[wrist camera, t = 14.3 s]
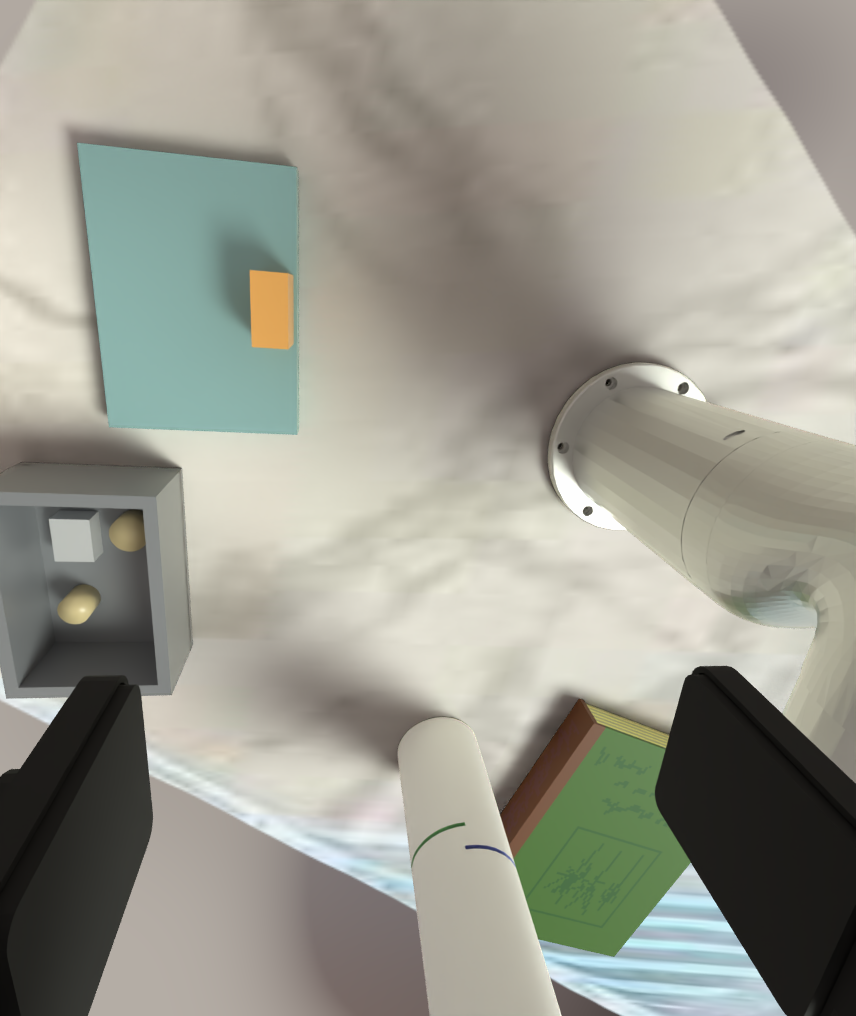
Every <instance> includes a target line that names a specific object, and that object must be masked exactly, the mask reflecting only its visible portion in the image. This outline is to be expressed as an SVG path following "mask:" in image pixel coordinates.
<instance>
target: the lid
mask: <svg viewBox="0 0 856 1016" xmlns="http://www.w3.org/2000/svg"><path fill="white" fill-rule="evenodd" d="M77 146H78V155H79V164H80V173H81V182H82V191H83V200H84V209H85V218H86V227H87V236H88V244H89V253H90V262H91V271H92V280H93V289H94V298H95V307H96V316H97V325H98V334H99V343H100V352H101V360H102V369H103V378H104V387H105V396H106V405H107V414H108V423H109V427H117V428H142V429H167V430H192V431H217V432H242V433H267V434H292V435H297V434H298V430H299V214H298V170H297V167H293V166H284V165H275V164H266V163H257V162H248V161H239V160H230V159H221V158H212V157H203V156H193V155H184V154H175V153H166V152H157V151H148V150H139V149H130V148H121V147H112V146H103V145H94V144H85V143H77Z"/></svg>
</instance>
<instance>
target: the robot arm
mask: <svg viewBox="0 0 856 1016" xmlns="http://www.w3.org/2000/svg"><path fill="white" fill-rule="evenodd" d="M607 379H609V383H608V384H607V385H606V384H605V383H606V381H607ZM678 386H679V388H678ZM561 442H562V446H561V447H560V448H557V447H558V445H559V444H560V443H561ZM548 468H549V473H550V479H551V481H552V484H553V486H554V489H555V491H556V493H557V495H558V496H559V497H560V499H561V500H562V502H563V503H564V504H565V505H566V506H567V507H568V508H569V509H570V510H571V511H572V512H573V513H574V514H575V515H576V516H578V517H579V518H580V519H582V520H583V521H585V522H587V523H590V524H592V525H594V526H596V527H600V528H605V529H609V530H627V531H628V532H630V533H631V534H632V535H633V536H635V537H636V538H637V539H638V540H639V541H641V542H642V543H643V544H644V545H645V546H647V547H648V548H649V549H650V550H652V551H653V552H654V553H655V554H656V555H658V556H659V557H660V558H661V559H662V560H664V561H665V562H666V563H667V564H669V565H670V566H671V567H672V568H673V569H675V570H676V571H677V572H678V573H679V574H681V575H682V576H683V577H684V578H686V579H687V580H688V581H689V582H690V583H692V584H693V585H694V586H695V587H697V588H698V589H699V590H701V591H702V592H703V593H704V594H706V595H707V596H708V597H709V598H710V599H712V600H713V601H714V602H715V603H717V604H718V605H719V606H721V607H722V608H724V609H725V610H727V611H728V612H730V613H732V614H734V615H736V616H738V617H740V618H742V619H744V620H747V621H750V622H753V623H757V624H760V625H764V626H769V627H776V628H792V629H805V628H816V632H815V636H814V639H813V641H812V644H811V646H810V649H809V651H808V653H807V656H806V658H805V660H804V663H803V665H802V668H801V674H800V676H799V678H798V680H797V682H796V685H795V687H794V689H793V691H792V693H791V696H790V698H789V700H788V702H787V704H786V707H785V709H784V711H783V713H781V712H780V711H779V710H778V709H777V708H776V707H775V706H773V705H772V704H771V703H770V702H769V701H768V700H767V699H766V698H765V697H764V696H763V695H762V694H761V693H760V692H759V691H758V690H757V689H756V688H754V687H753V686H752V685H751V684H750V683H749V682H748V681H747V680H746V679H745V678H744V677H743V676H742V675H741V674H740V673H739V672H738V671H737V670H735V669H734V668H732V667H729V666H700V667H697V668H695V670H694V671H693V672H692V675H688V676H687V677H686V678H685V681H684V684H683V687H682V691H681V695H680V698H679V702H678V706H677V709H676V713H675V717H674V720H673V724H672V728H671V731H670V735H669V739H668V742H667V746H666V750H665V753H664V757H663V761H662V764H661V768H660V772H659V775H658V779H657V783H656V786H655V800H656V804H657V807H658V809H659V811H660V813H661V815H662V816H663V818H664V820H665V821H666V823H667V825H668V826H669V828H670V829H671V831H672V833H673V834H674V836H675V838H676V839H677V841H678V842H679V844H680V846H681V847H682V849H683V850H684V852H685V854H686V855H687V857H688V859H689V860H690V862H691V863H692V865H693V867H694V868H695V870H696V872H697V873H698V875H699V876H700V878H701V880H702V881H703V883H704V884H705V886H706V888H707V889H708V891H709V893H710V894H711V896H712V897H713V899H714V901H715V902H716V904H717V906H718V907H719V909H720V910H721V912H722V914H723V915H724V917H725V919H726V920H727V922H728V923H729V925H730V927H731V928H732V930H733V931H734V933H735V935H736V936H737V938H738V940H739V941H740V943H741V944H742V946H743V948H744V949H745V951H746V953H747V954H748V956H749V957H750V959H751V961H752V962H753V964H754V965H755V967H756V969H757V970H758V972H759V974H760V975H761V977H762V978H763V980H764V982H765V983H766V985H767V987H768V988H769V990H770V991H771V993H772V995H773V996H774V998H775V999H776V1001H777V1003H778V1004H779V1006H780V1007H781V1009H782V1010H783V1012H784V1013H785V1014H786V1015H787V1016H856V445H853V444H849V443H845V442H842V441H839V440H835V439H832V438H828V437H825V436H821V435H818V434H814V433H810V432H807V431H804V430H800V429H797V428H793V427H790V426H787V425H783V424H780V423H776V422H773V421H769V420H766V419H763V418H759V417H756V416H752V415H749V414H745V413H742V412H739V411H735V410H732V409H728V408H725V407H722V406H718V405H715V404H711V403H708V402H707V401H706V399H705V397H704V395H703V393H702V392H701V390H700V389H699V388H698V387H697V386H696V385H695V383H694V382H693V381H692V380H690V379H689V378H688V377H686V376H685V375H684V374H682V373H681V372H679V371H676V370H674V369H672V368H669V367H667V366H663V365H658V364H654V363H641V362H636V363H629V364H622V365H619V366H616V367H613V368H610V369H607V370H605V371H603V372H601V373H599V374H598V375H596V376H594V377H592V378H591V379H590V380H588V381H587V382H586V383H585V384H583V385H582V386H581V387H580V388H578V389H577V391H576V392H575V393H574V394H573V395H572V396H571V397H570V399H569V400H568V401H567V402H566V404H565V405H564V407H563V409H562V410H561V412H560V413H559V415H558V417H557V419H556V422H555V424H554V427H553V429H552V432H551V436H550V441H549V446H548ZM585 506H586V508H585V509H584V510H583V508H584V507H585ZM152 822H153V812H152V801H151V791H150V781H149V770H148V760H147V750H146V740H145V730H144V720H143V710H142V700H141V691H140V687H139V685H129V683H128V679H127V677H126V676H124V675H101V676H85V677H83V678H82V679H81V680H80V681H79V683H78V684H77V685H76V687H75V688H74V690H73V691H72V693H71V694H70V696H69V697H68V699H67V700H66V702H65V703H64V705H63V706H62V708H61V709H60V711H59V712H58V714H57V715H56V717H55V718H54V720H53V721H52V722H51V724H50V725H49V727H48V728H47V730H46V731H45V733H44V734H43V736H42V737H41V739H40V740H39V742H38V743H37V745H36V746H35V748H34V749H33V751H32V752H31V754H30V755H29V757H28V758H27V759H26V761H25V762H24V764H23V765H22V767H21V768H20V769H11V770H9V771H7V772H5V773H4V774H2V776H1V777H0V1016H88V1013H89V1011H90V1008H91V1005H92V1002H93V999H94V997H95V994H96V991H97V988H98V985H99V982H100V979H101V977H102V973H103V971H104V968H105V965H106V962H107V959H108V956H109V954H110V951H111V948H112V945H113V942H114V939H115V937H116V934H117V931H118V928H119V925H120V922H121V919H122V917H123V914H124V911H125V908H126V905H127V902H128V899H129V897H130V894H131V890H132V888H133V885H134V882H135V880H136V877H137V874H138V871H139V868H140V865H141V862H142V860H143V857H144V854H145V851H146V848H147V845H148V842H149V839H150V835H151V831H152Z"/></svg>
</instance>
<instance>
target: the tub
mask: <svg viewBox="0 0 856 1016" xmlns="http://www.w3.org/2000/svg"><path fill="white" fill-rule="evenodd" d="M192 645H193V640H192V623H191V607H190V591H189V574H188V558H187V541H186V525H185V509H184V492H183V476H182V468H158V467H132V466H107V465H81V464H55V463H29V462H21V463H19V464H17V465H15V466H13V467H11V468H9V469H7V470H6V471H4V472H2V473H0V668H1V673H2V678H3V683H4V688H5V694H6V698H55V697H69V696H70V694H71V693H72V691H73V690H74V688H75V687H76V685H77V684H78V683H79V681H80V680H81V679H82V678H83V677H85V676H101V675H124V676H126V677H127V679H128V683H129V685H139V687H140V691H141V696H152V695H172V693H173V691H174V688H175V686H176V683H177V681H178V679H179V676H180V674H181V672H182V669H183V667H184V664H185V662H186V660H187V657H188V655H189V653H190V650H191V648H192Z"/></svg>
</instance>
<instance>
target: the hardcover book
mask: <svg viewBox="0 0 856 1016" xmlns="http://www.w3.org/2000/svg"><path fill="white" fill-rule="evenodd" d="M668 739H669V735H668V734H666V733H663V732H660V731H658V730H655V729H652V728H650V727H647V726H644V725H642V724H639V723H636V722H634V721H631V720H628V719H626V718H623V717H620V716H618V715H615V714H612V713H610V712H607V711H604V710H602V709H599V708H597V707H594V706H591V705H589V704H586V703H585V701H584V700H583V699H580V698H579V700H578V701H577V702H576V704H575V705H574V707H573V708H572V710H571V711H570V713H569V714H568V716H567V717H566V719H565V720H564V722H563V723H562V725H561V726H560V727H559V729H558V730H557V732H556V733H555V735H554V736H553V738H552V739H551V741H550V742H549V744H548V745H547V747H546V748H545V750H544V751H543V753H542V754H541V755H540V757H539V758H538V760H537V761H536V763H535V764H534V766H533V767H532V769H531V770H530V772H529V773H528V775H527V776H526V778H525V779H524V780H523V782H522V783H521V785H520V786H519V788H518V789H517V791H516V792H515V794H514V795H513V797H512V798H511V800H510V801H509V803H508V804H507V805H506V807H505V808H504V810H503V811H502V813H501V814H500V817H501V820H502V823H503V827H504V830H505V833H506V837H507V840H508V843H509V846H510V850H511V853H512V856H513V860H514V863H515V866H516V869H517V873H518V876H519V879H520V882H521V886H522V889H523V892H524V895H525V899H526V902H527V905H528V908H529V911H530V915H531V918H532V921H533V924H534V928H535V931H536V934H537V937H538V939H539V940H544V941H548V942H552V943H557V944H561V945H565V946H570V947H574V948H578V949H583V950H587V951H591V952H596V953H600V954H604V955H609V956H613V957H614V956H615V955H616V954H617V952H618V951H619V950H620V949H621V948H622V946H623V945H624V944H625V943H626V941H627V940H628V939H629V938H630V937H631V935H632V934H633V933H634V932H635V930H636V929H637V928H638V927H639V925H640V924H641V923H642V922H643V921H644V919H645V918H646V917H647V916H648V914H649V913H650V912H651V911H652V909H653V908H654V907H655V906H656V905H657V903H658V902H659V901H660V900H661V898H662V897H663V896H664V895H665V893H666V892H667V891H668V890H669V889H670V887H671V886H672V885H673V884H674V882H675V881H676V880H677V879H678V878H679V876H680V875H681V874H682V873H683V871H684V870H685V869H686V868H687V866H688V865H689V864H690V863H691V862H690V860H689V859H688V857H687V855H686V854H685V852H684V850H683V849H682V847H681V846H680V844H679V842H678V841H677V839H676V838H675V836H674V834H673V833H672V831H671V829H670V828H669V826H668V825H667V823H666V821H665V820H664V818H663V816H662V815H661V813H660V811H659V809H658V807H657V804H656V800H655V786H656V783H657V779H658V775H659V772H660V768H661V764H662V761H663V757H664V753H665V750H666V746H667V742H668Z"/></svg>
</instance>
